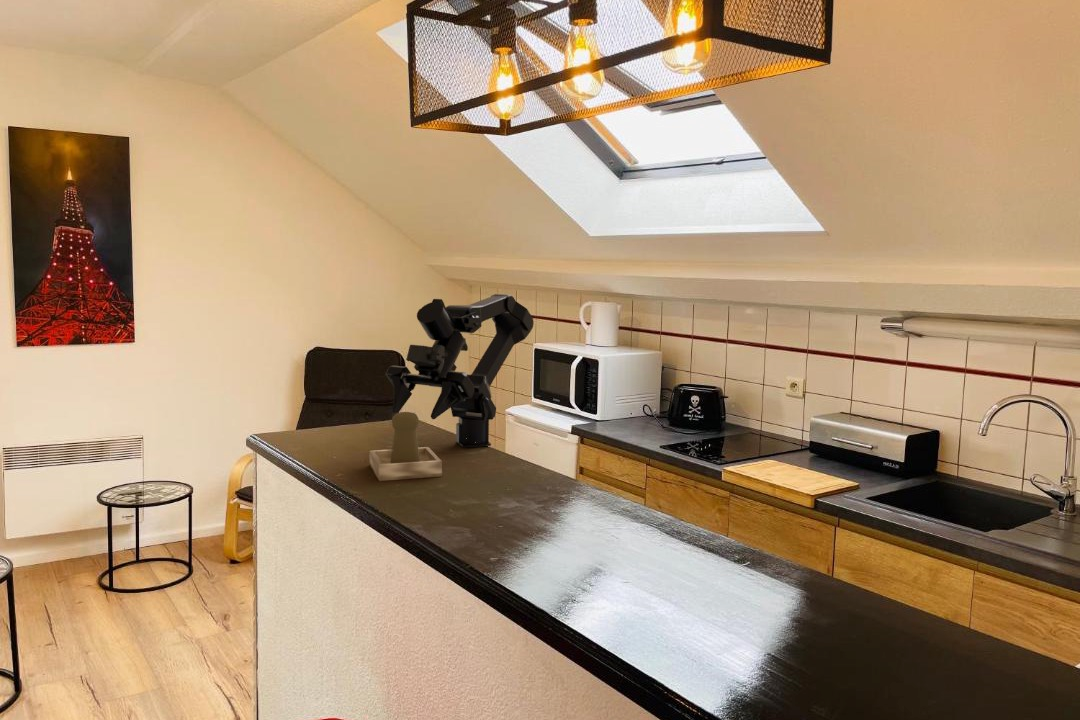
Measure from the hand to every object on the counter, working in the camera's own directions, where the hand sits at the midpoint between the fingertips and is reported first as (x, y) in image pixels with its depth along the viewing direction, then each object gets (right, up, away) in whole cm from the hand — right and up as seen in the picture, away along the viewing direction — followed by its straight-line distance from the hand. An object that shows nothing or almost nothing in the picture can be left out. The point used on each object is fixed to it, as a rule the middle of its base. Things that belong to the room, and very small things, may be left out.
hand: (412, 415), depth 167 cm
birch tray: (-1, -11, -1) cm, 11 cm away
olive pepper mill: (-1, -10, -1) cm, 10 cm away
